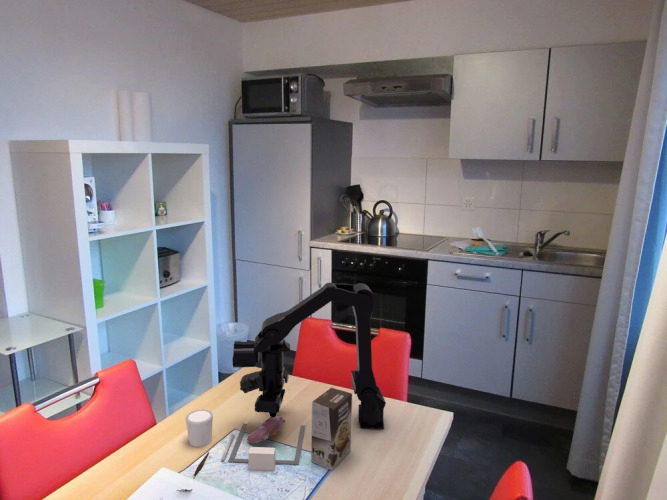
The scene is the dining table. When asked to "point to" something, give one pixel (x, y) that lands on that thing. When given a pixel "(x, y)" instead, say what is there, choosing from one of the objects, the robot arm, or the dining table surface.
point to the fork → (198, 468)
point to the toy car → (266, 429)
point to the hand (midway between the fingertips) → (272, 418)
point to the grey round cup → (199, 427)
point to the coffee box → (331, 428)
